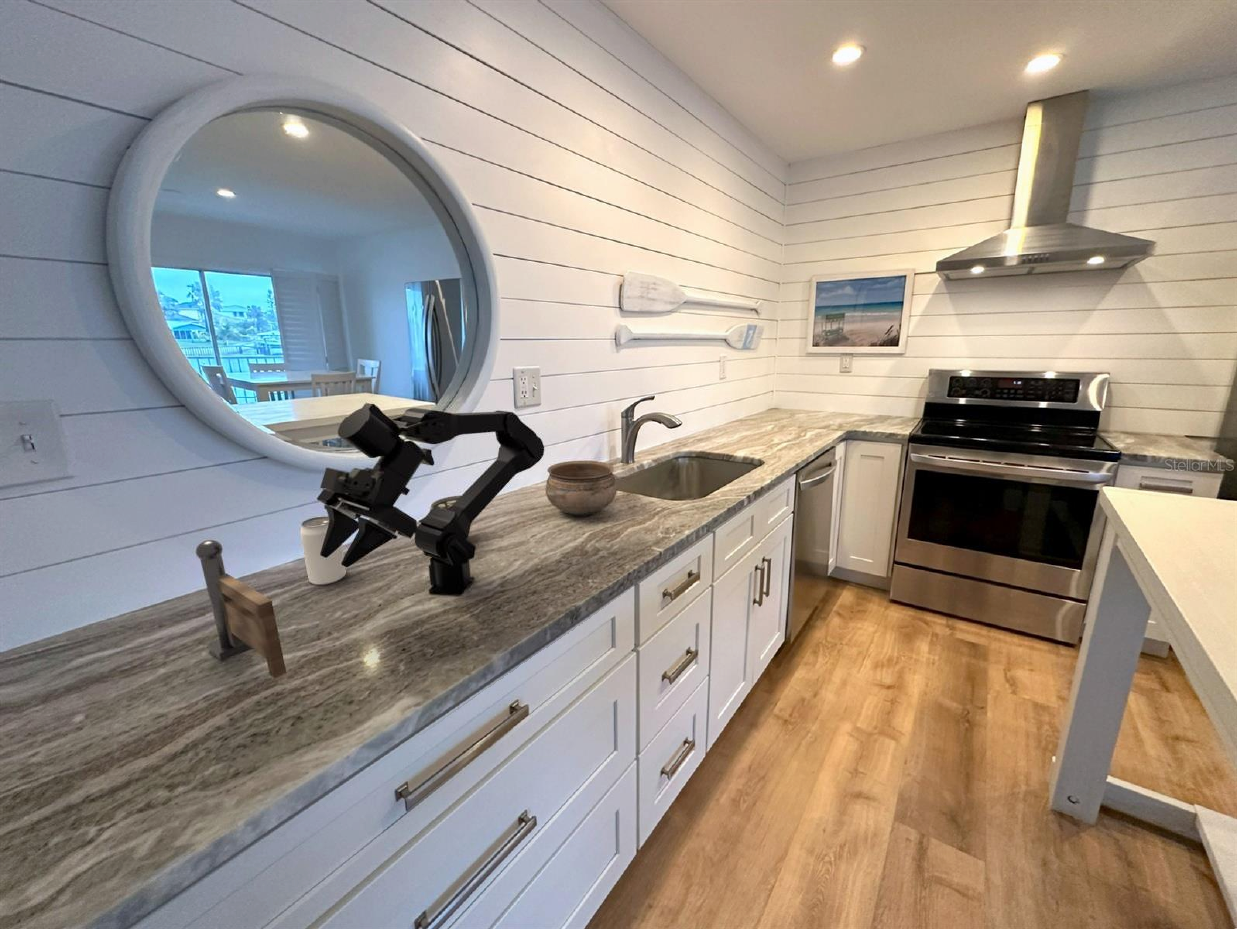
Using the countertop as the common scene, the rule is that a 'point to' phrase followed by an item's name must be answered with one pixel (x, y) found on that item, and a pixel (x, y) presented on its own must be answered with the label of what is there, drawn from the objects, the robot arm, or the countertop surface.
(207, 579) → the gate post
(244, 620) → the gate
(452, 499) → the food container
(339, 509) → the robot arm
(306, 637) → the countertop surface
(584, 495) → the cooking pot
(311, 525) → the can
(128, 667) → the countertop surface
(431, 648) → the countertop surface
